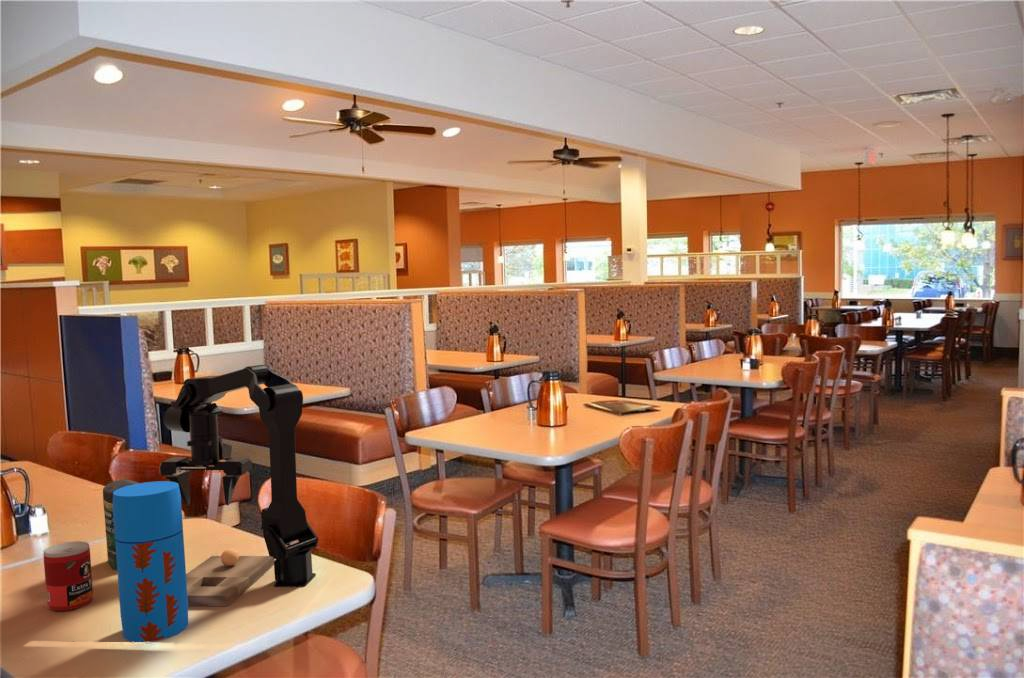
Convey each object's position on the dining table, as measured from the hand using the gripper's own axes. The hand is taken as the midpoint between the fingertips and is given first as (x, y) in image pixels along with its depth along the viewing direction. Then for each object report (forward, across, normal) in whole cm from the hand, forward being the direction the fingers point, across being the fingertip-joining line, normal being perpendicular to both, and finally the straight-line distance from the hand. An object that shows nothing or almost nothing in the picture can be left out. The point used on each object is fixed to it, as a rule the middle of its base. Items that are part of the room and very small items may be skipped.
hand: (208, 504), depth 176 cm
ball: (+8, -9, +9) cm, 15 cm away
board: (+12, -9, +14) cm, 21 cm away
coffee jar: (+13, +17, +3) cm, 22 cm away
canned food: (+13, +16, +24) cm, 32 cm away
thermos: (+12, -8, +35) cm, 38 cm away
